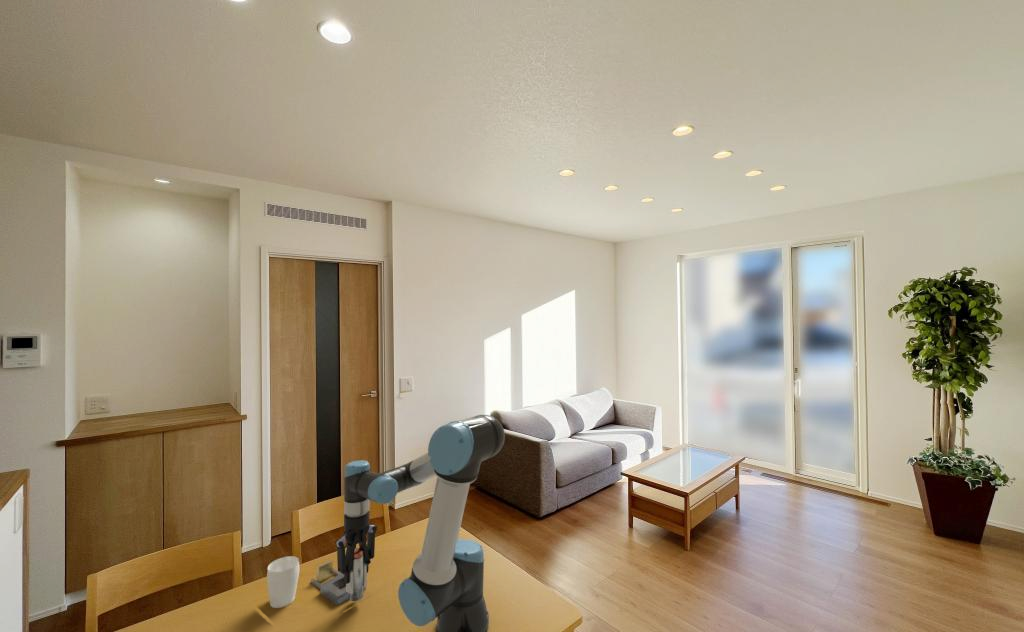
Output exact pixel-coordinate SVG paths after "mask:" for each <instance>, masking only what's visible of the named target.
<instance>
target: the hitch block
mask: <svg viewBox="0 0 1024 632" xmlns="http://www.w3.org/2000/svg"><path fill="white" fill-rule="evenodd" d="M333 575H335V576H334V577H333V578H331V579H328V580H327V581H325V582H322V583H320V582H318V581H316V578H311V579H310V583H311V584H312V585H314V586H315V587H316V588H318V589H320V594H321V595H323V596H324V598H326V599H328V600H329V601H331V602H332V603H333V604H334V605H336V606H340V605H341V604H344V603H345V602H346V601H348V600H350V599H349V593H348V592H346V583H345V582H344V574H342V573H340V572H339V571H338V569H335V568H333ZM343 586H345V587H343ZM340 588H341V589H340ZM365 590H367V585H366V586H365V587H364V586H363V592H364V591H365Z"/></svg>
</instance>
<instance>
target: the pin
mask: <svg viewBox="0 0 1024 632" xmlns="http://www.w3.org/2000/svg"><path fill="white" fill-rule="evenodd" d="M351 570H352V571H353V594H349V599H348V600H349V601H351V602H357V601H360V600H361V599H363V597H364V591H363V549H361V548H359V547H356V548H355V550H354V556H353V562H352V568H351Z"/></svg>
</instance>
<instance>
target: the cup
mask: <svg viewBox="0 0 1024 632" xmlns="http://www.w3.org/2000/svg"><path fill="white" fill-rule="evenodd" d="M300 569H301V568H300V559H299V558H298V557H296V556H294V555H293V556H292V555H291V556H283V557H280V558H277V559H274V560H273V561H272V562H270V563H269V564H268V566H267V574H266V582H267V589H268V590H267V591H268V598H269V606H270V607H272V608H273V609H280V608H284V607H287V606H289V605H290V604H292V603H293V602H294V600H295V598H296V593H297V587H298V582H299V576H300Z"/></svg>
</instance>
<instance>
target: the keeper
mask: <svg viewBox="0 0 1024 632" xmlns="http://www.w3.org/2000/svg"><path fill="white" fill-rule="evenodd" d="M333 569H334V561H333V559H327V560H325V561H324V562H322V563H320V564H319V563H318V564H317V565H316V571H315V572H316V577H315V580H316V581H318V582H319V583H320V582H322V581H324V580H326V579H328V578H331V577H332V576H334V574H333Z"/></svg>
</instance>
